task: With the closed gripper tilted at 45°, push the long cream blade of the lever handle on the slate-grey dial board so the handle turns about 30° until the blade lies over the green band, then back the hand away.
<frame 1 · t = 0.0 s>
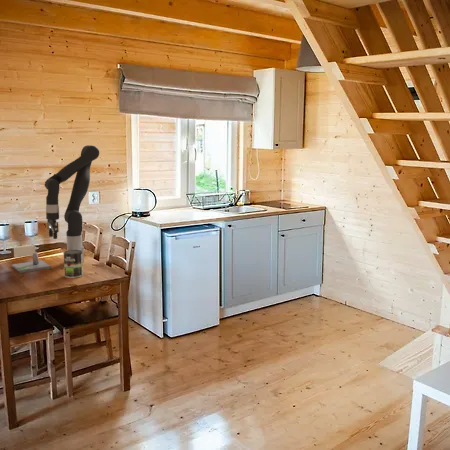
hand: (53, 237, 315), 17 cm above the table, tool pointing down, fingers open, 8 cm apart
coffee can: (74, 276, 293), on the table
dial board: (31, 267, 311), on the table
lever handle: (26, 255, 310), point 8 cm above the table, hinge at 0.0°
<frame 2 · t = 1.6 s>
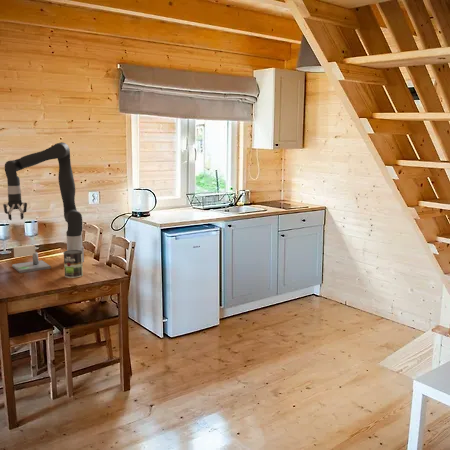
hand: (16, 219, 319), 28 cm above the table, tool pointing down, fingers open, 6 cm apart
nothing on the table moved.
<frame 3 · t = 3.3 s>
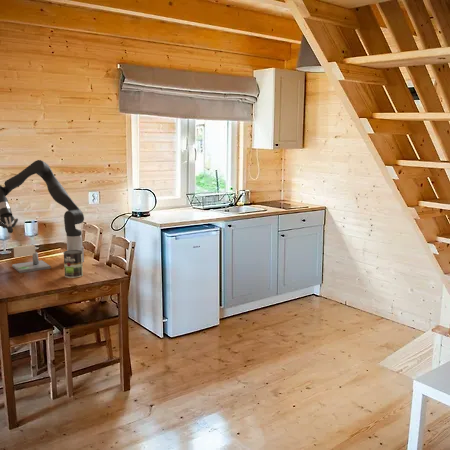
hand: (10, 232, 319), 20 cm above the table, tool tilted 45°, fingers closed
nothing on the table moved.
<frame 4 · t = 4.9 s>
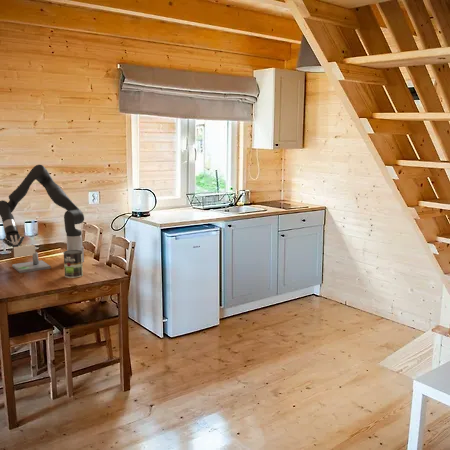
hand: (16, 250, 312), 10 cm above the table, tool tilted 45°, fingers closed
nothing on the table moved.
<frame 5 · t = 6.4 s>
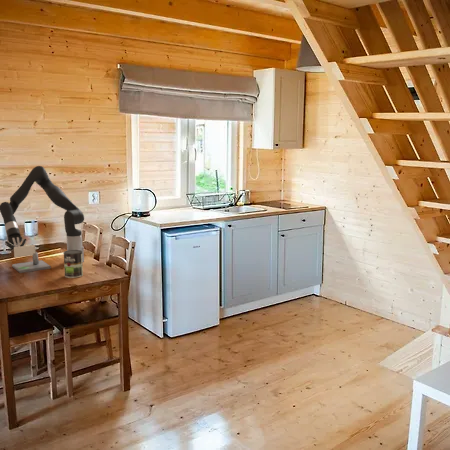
hand: (18, 253, 308), 9 cm above the table, tool tilted 45°, fingers closed
lever handle: (26, 255, 310), point 8 cm above the table, hinge at 1.7°, touching gripper
everything else where it was.
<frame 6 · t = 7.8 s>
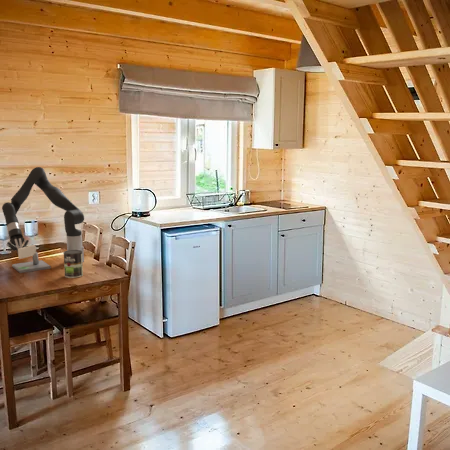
hand: (21, 254, 305), 9 cm above the table, tool tilted 45°, fingers closed
lever handle: (28, 256, 308), point 8 cm above the table, hinge at 28.0°, touching gripper
everything else where it was.
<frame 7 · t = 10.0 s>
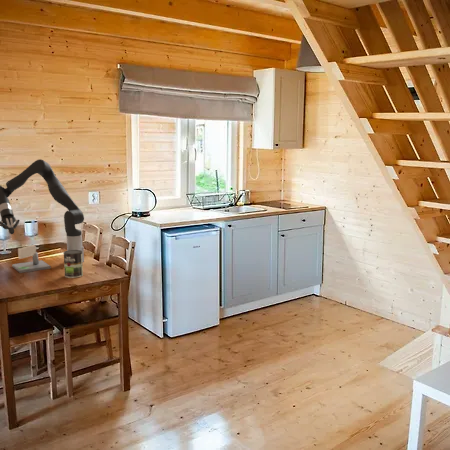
hand: (12, 233, 318), 19 cm above the table, tool tilted 45°, fingers closed
lever handle: (28, 256, 308), point 8 cm above the table, hinge at 28.1°
everything else where it was.
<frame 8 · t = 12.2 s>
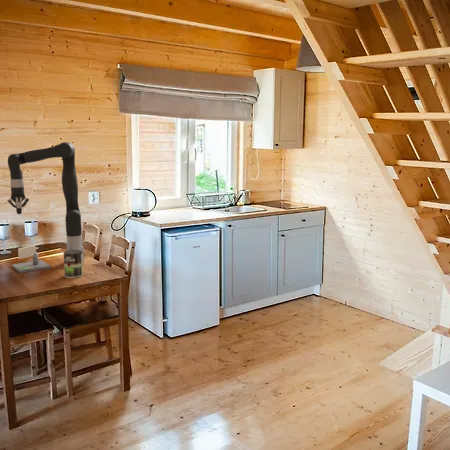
hand: (19, 214, 319), 31 cm above the table, tool pointing down, fingers closed
nothing on the table moved.
at the end: lever handle at +28° (first picture: +0°) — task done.
